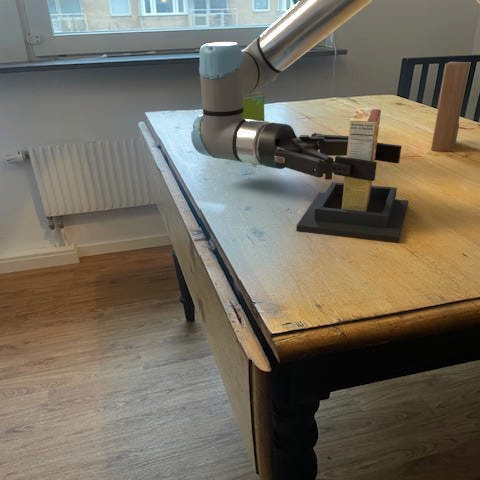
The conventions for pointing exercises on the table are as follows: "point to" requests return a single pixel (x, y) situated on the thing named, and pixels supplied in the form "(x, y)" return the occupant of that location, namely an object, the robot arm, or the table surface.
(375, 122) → the candy box
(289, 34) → the robot arm
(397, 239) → the dock pad
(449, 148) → the wooden block
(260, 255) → the table surface
